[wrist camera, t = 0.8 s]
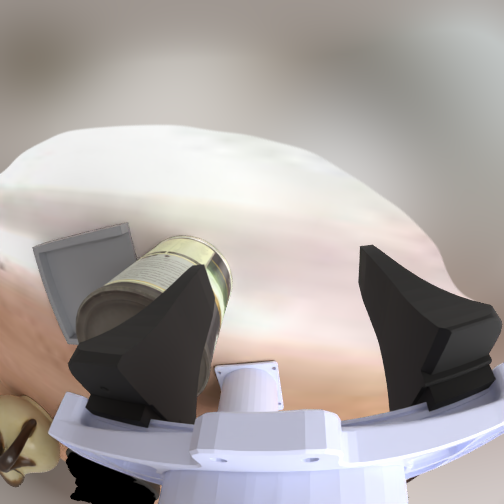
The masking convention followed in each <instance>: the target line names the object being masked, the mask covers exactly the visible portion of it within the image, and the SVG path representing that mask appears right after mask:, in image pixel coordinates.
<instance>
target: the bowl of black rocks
mask: <svg viewBox="0 0 504 504" xmlns="http://www.w3.org/2000/svg"><path fill="white" fill-rule="evenodd" d="M66 454H67V457H68V458H67V459H66V464H67V465H68V468H69V470H70V472H71V474H72V475H73V476H74V477H75V478H76V481H75V484H76V485H77V486H78V487H76V490H75V492H74V493H73V494H72V495H71V496H70V497H71V499H73V500H77V501H80V500H81V501H85V502H88V503H90V502H91V503H92V504H154V502H155V500H157V499H158V498H159V495H160V485H159V484H155V483H152V482H149V481H145V480H142V479H139V478H136V477H133V476H130V475H127V474H124V473H122V472H119V471H116V470H114V469H111V468H108V467H106V466H103V465H101V464H99V463H96V462H94V461H91V460H89V459H87V458H84V457H82V456H80V455H79V454H77V453H76V452H74V451H72V450H71V449H69V448H68V449H67V451H66Z"/></svg>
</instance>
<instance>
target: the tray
mask: <svg viewBox="0 0 504 504" xmlns="http://www.w3.org/2000/svg"><path fill="white" fill-rule="evenodd" d="M33 251H34V255H35V258H36V262H37V265H38V269H39V272H40V275H41V278H42V281H43V284H44V287H45V290H46V293H47V296H48V298H49V301H50V304H51V306H52V309H53V311H54V314H55V316H56V319H57V321H58V323H59V326H60V328H61V330H62V332H63V335H64V337H65V339H66V341H67V343H68V344H75V345H79V343H78V339H77V335H76V316H77V311H78V309H79V306H80V305H81V303H82V302H83V300H84V299H85V298H86V297H87V296H88V295H89V294H90V293H92V292H93V291H95V290H96V289H98V288H100V287H102V286H104V285H105V284H107V283H108V282H109V281H111V280H112V279H113V278H115V277H116V276H117V275H119V274H120V273H121V272H123V271H124V270H125V269H127V268H128V267H129V266H131V265H132V264H133V263H135V262H136V261H137V258H136V254H135V250H134V246H133V242H132V238H131V234H130V230H129V225H128V222H127V223H122V224H118V225H113V226H109V227H105V228H101V229H96V230H92V231H88V232H84V233H80V234H76V235H72V236H68V237H65V238H61V239H57V240H53V241H50V242H46V243H43V244H40V245H37V246H35V247H33Z"/></svg>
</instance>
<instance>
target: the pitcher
mask: <svg viewBox="0 0 504 504" xmlns="http://www.w3.org/2000/svg"><path fill="white" fill-rule="evenodd" d="M52 422H53V419H52V418H51V417H50V415H49V414H48V413H47V412H46V411H45V410H44V409H43V408H42V407H41V406H40V405H39V404H38V403H36V402H35V401H34V400H32V399H31V398H29V397H28V396H25V395H22V396H20V397H18V396H14V395H0V475H1V476H2V477H3V479H4V480H5V481H6V482H7V483H8V484H9V485H11V486H13V487H19V485H21V484H22V483H23V481H24V478H25V477H24V475H25V474H27V473H38V472H46V471H50V470H52V469H53V468H55V467H56V465H57V464H58V461H59V458H60V445H59V441H58V440H56V439H55V438H53V437H52V436H51V435H49V433H48V431H49V429H50V426H51V424H52Z"/></svg>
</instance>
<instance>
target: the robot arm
mask: <svg viewBox="0 0 504 504" xmlns="http://www.w3.org/2000/svg"><path fill="white" fill-rule="evenodd" d="M358 283H359V287H360V291H361V295H362V299H363V302H364V304H365V307H366V310H367V312H368V315H369V317H370V320H371V323H372V325H373V328H374V331H375V333H376V336H377V339H378V342H379V346H380V350H381V355H382V359H383V364H384V370H385V376H386V382H387V390H388V398H389V409H390V412H387V413H382V414H378V415H373V416H368V417H363V418H357V419H351V420H345V421H340V419H339V417H338V415H337V414H335V413H333V412H329V411H326V410H322V409H303V410H290V411H278V410H282V409H283V399H282V392H281V385H280V378H279V371H278V365H277V362H276V361H268V362H258V363H247V364H234V365H218V366H215V373H216V376H217V379H218V382H219V385H220V388H221V396H220V401H219V406H218V411H217V412H208V413H205V414H203V415H201V416H199V417H197V418H196V404H197V391H198V381H199V373H200V365H201V359H202V355H203V351H204V347H205V343H206V340H207V336H208V332H209V329H210V325H211V321H212V317H213V312H214V304H215V296H214V293H213V290H212V287H211V284H210V281H209V277H208V274H207V271H206V268H205V265H204V264H201V265H192V266H191V267H190V268H189V269H187V270H186V271H185V272H184V273H183V274H182V275H181V276H180V277H179V278H178V279H177V280H176V281H175V282H174V283H173V284H172V285H171V286H170V287H168V288H167V289H166V290H165V291H164V292H163V293H162V294H161V295H160V296H158V297H157V298H156V299H155V300H154V301H153V302H152V303H150V304H149V305H148V306H147V307H145V308H144V309H143V310H141V311H140V312H139V313H137V314H136V315H134V316H133V317H131V318H129V319H128V320H126V321H125V322H123V323H121V324H120V325H118V326H116V327H114V328H113V329H111V330H109V331H107V332H105V333H103V334H100V335H98V336H96V337H93V338H91V339H88V340H86V341H83V342H80V343H79V345H78V346H77V348H76V350H75V352H74V354H73V355H72V357H71V359H70V361H69V363H68V366H69V369H70V371H71V373H72V374H73V376H74V377H75V378H76V379H77V380H78V381H79V382H80V383H81V384H82V386H83V387H84V388H85V389H86V390H87V391H88V392H89V393H90V394H91V395H90V397H89V399H87V398H85V397H83V396H81V395H77V394H74V393H71V392H66V394H65V396H64V398H63V400H62V402H61V404H60V406H59V409H58V411H57V413H56V415H55V417H54V419H53V422H52V424H51V426H50V429H49V431H48V433H49V435H51V436H52V437H53V438H55V439H56V440H58V441H59V442H60V443H62V444H63V445H65V446H66V447H68V448H69V449H71V450H72V451H74V452H76V453H77V454H79V455H80V456H82V457H84V458H87V459H89V460H91V461H94V462H96V463H99V464H101V465H103V466H106V467H108V468H111V469H114V470H116V471H119V472H122V473H124V474H127V475H130V476H133V477H136V478H139V479H142V480H145V481H149V482H152V483H155V484H159V485H162V488H161V493H160V497H159V502H158V504H408V496H407V488H406V479H408V478H411V477H414V476H417V475H420V474H422V473H425V472H427V471H430V470H432V469H435V468H437V467H440V466H442V465H444V464H446V463H449V462H451V461H453V460H455V459H457V458H459V457H461V456H463V455H465V454H467V453H469V452H471V451H473V450H475V449H477V448H479V447H481V446H482V445H484V444H486V443H488V442H489V441H491V440H493V439H495V438H496V437H498V436H500V435H501V434H503V433H504V363H502V364H499V365H498V366H496V367H495V368H494V369H493V370H491V368H490V365H489V364H490V363H491V362H492V359H491V357H490V355H489V353H490V351H491V349H492V348H493V346H494V344H495V342H496V341H497V338H498V337H499V335H500V332H501V328H502V321H501V319H500V318H499V316H498V315H497V313H496V312H495V310H494V309H493V307H492V306H491V305H488V304H484V303H480V302H476V301H472V300H469V299H466V298H463V297H460V296H457V295H454V294H452V293H449V292H447V291H445V290H443V289H440V288H438V287H436V286H434V285H432V284H430V283H428V282H427V281H425V280H423V279H421V278H419V277H418V276H416V275H415V274H413V273H412V272H410V271H408V270H407V269H405V268H404V267H403V266H401V265H400V264H398V263H397V262H396V261H394V260H393V259H391V258H390V257H389V256H387V255H386V254H385V253H383V252H382V251H381V250H379V249H378V248H377V247H375V246H374V245H367V246H360V262H359V281H358ZM272 367H275V368H272ZM218 371H220V372H218Z"/></svg>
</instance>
